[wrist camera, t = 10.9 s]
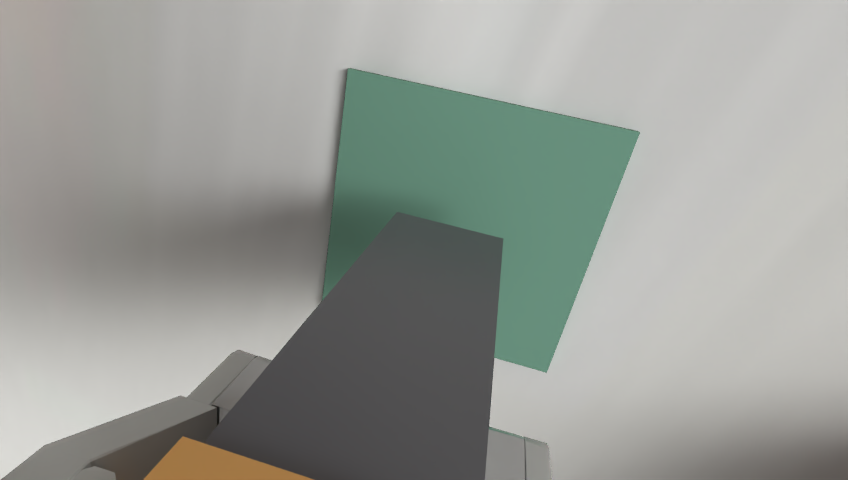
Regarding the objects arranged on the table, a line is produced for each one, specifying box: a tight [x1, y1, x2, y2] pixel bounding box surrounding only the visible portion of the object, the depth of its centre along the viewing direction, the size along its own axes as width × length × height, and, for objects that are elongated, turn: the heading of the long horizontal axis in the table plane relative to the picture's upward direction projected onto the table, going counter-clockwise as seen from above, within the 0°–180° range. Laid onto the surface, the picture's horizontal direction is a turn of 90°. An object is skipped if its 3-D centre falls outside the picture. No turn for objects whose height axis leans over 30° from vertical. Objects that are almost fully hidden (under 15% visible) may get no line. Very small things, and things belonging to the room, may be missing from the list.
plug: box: [143, 212, 503, 480], centre depth 11 cm, size 4×4×12 cm
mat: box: [322, 68, 640, 373], centre depth 20 cm, size 12×12×1 cm
